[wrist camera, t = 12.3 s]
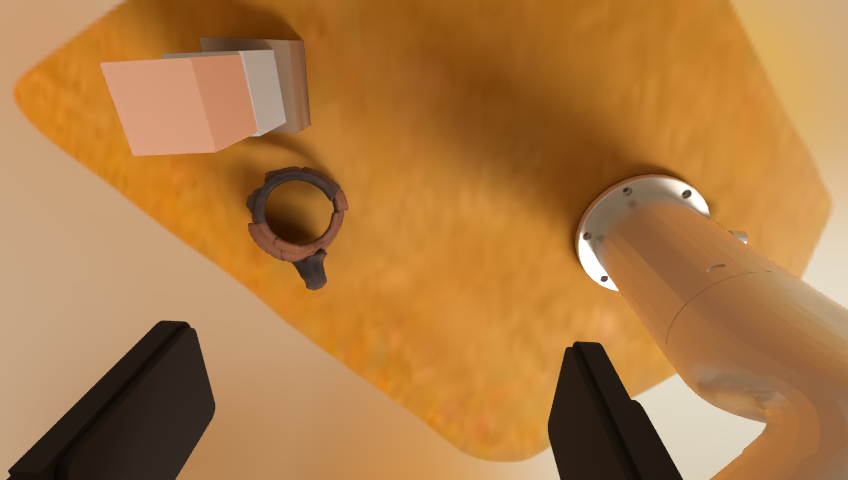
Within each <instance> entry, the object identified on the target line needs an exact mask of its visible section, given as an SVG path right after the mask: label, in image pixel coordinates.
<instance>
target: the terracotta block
mask: <svg viewBox="0 0 848 480" xmlns="http://www.w3.org/2000/svg"><path fill="white" fill-rule="evenodd" d="M100 66H101V69H102V71H103V74H104V77H105V80H106V82H107V85H108V88H109V91H110V93H111V96H112V99H113V102H114V104H115V107H116V110H117V112H118V115H119V118H120V121H121V123H122V126H123V129H124V132H125V134H126V137H127V140H128V142H129V145H130V148H131V151H132V153H133V156H145V155H167V154H189V153H212V152H218V151H220V150H222V149H224V148H226V147H228V146H230V145H232V144H234V143H237V142H239V141H241V140H243V139H245V138H247V137H249V136H251V135H253V134H255V133H257V132H258V128H257V124H256V119H255V115H254V110H253V106H252V101H251V97H250V93H249V88H248V84H247V79H246V75H245V70H244V66H243V62H242V57H241V55H225V56H208V57H191V58H173V59H156V60H139V61H122V62H105V63H100Z"/></svg>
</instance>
